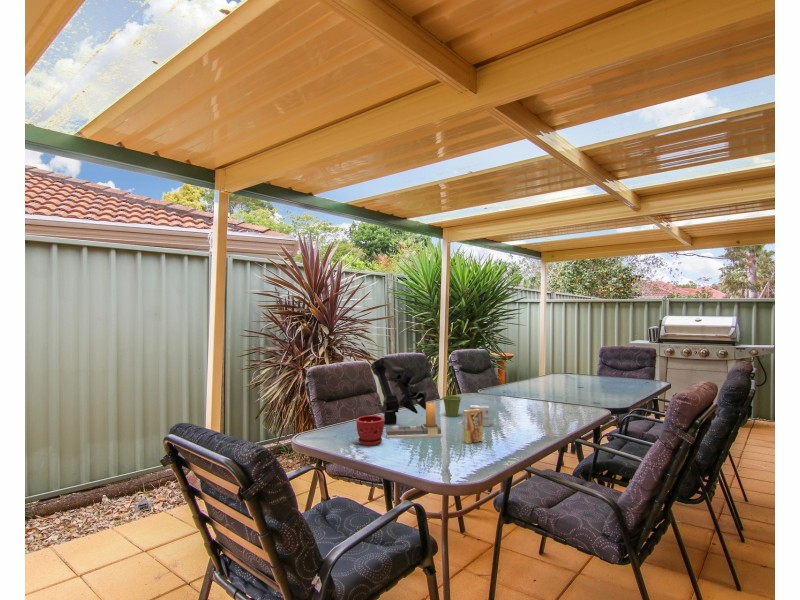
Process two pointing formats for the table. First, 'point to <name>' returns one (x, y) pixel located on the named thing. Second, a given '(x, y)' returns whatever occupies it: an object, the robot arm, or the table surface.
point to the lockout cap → (430, 414)
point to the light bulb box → (483, 413)
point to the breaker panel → (413, 432)
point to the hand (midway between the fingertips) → (422, 411)
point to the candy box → (472, 425)
